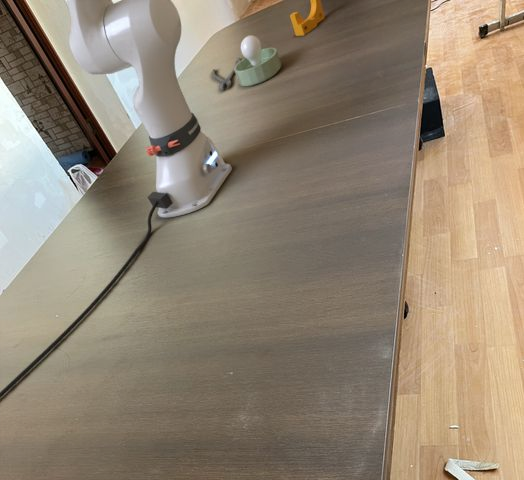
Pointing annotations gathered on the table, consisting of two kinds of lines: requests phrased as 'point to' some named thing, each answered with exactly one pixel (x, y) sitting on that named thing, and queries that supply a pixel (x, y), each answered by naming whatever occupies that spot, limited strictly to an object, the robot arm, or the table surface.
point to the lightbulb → (251, 50)
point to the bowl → (258, 68)
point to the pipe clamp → (311, 22)
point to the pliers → (227, 80)
